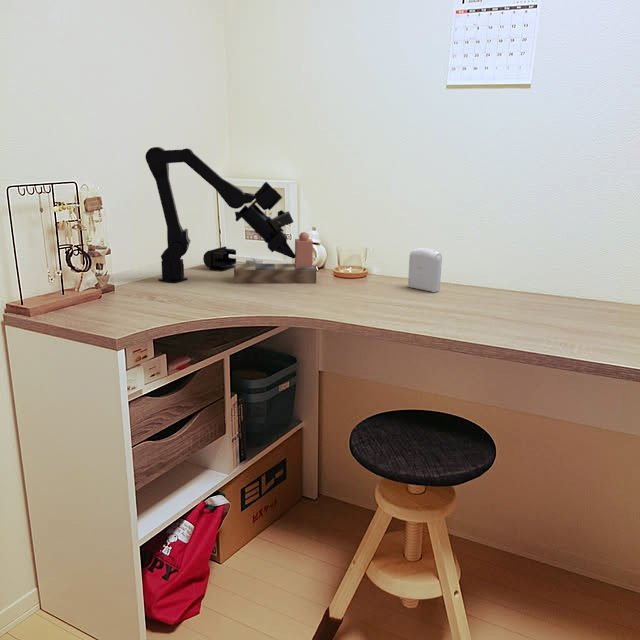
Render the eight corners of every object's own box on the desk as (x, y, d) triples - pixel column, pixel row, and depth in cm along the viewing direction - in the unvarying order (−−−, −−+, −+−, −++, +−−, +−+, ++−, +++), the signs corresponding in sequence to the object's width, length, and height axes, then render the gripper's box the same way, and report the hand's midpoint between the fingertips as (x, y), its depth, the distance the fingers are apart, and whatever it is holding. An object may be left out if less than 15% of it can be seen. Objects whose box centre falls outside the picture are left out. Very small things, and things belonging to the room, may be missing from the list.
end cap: (218, 265, 225) (218, 245, 223) (236, 267, 222) (236, 247, 220) (203, 270, 216) (202, 249, 214) (221, 272, 213) (221, 251, 211)
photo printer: (405, 287, 197) (408, 246, 194) (414, 285, 200) (416, 245, 196) (433, 293, 190) (436, 251, 186) (441, 291, 193) (445, 249, 189)
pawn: (296, 267, 199) (296, 233, 196) (294, 264, 204) (295, 231, 201) (312, 267, 200) (313, 233, 197) (310, 264, 205) (311, 231, 202)
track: (234, 283, 196) (233, 268, 195) (234, 277, 205) (234, 263, 204) (316, 283, 199) (316, 268, 198) (312, 277, 208) (313, 263, 207)
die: (255, 273, 211) (255, 261, 210) (245, 272, 213) (245, 260, 212) (262, 271, 215) (262, 259, 213) (252, 270, 216) (252, 258, 215)
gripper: (279, 205, 187) (316, 243, 191) (275, 199, 205) (310, 234, 209) (252, 232, 188) (289, 270, 192) (250, 224, 206) (285, 259, 210)
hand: (294, 257), depth 201 cm, fingers closed, pressing on pawn
